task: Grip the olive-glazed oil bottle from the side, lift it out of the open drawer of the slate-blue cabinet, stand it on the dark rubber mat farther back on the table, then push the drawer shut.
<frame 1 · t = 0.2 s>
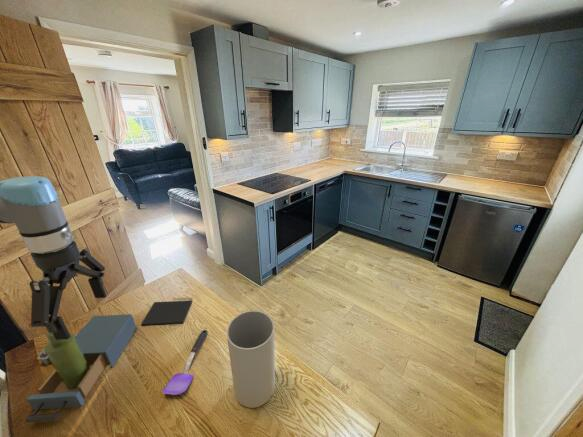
hand: (84, 315, 62), 28 cm above the table, tool pointing down, fingers open, 13 cm apart
spatula: (191, 361, 81), on the table
cabinet: (105, 347, 85), on the table
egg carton: (64, 353, 83), on the table
cylinder vase: (254, 386, 74), on the table
oil bottle: (79, 378, 73), point 2 cm above the table, touching drawer
mat: (168, 313, 100), on the table
drawer: (69, 384, 70), point 4 cm above the table, slide at 11.0 cm, touching oil bottle
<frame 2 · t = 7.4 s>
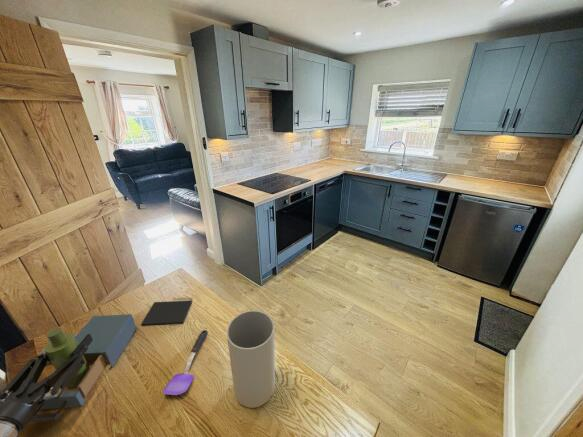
hand: (78, 337, 73), 14 cm above the table, tool horizontal, fingers closed on oil bottle, 6 cm apart
oil bottle: (79, 378, 73), point 2 cm above the table, touching drawer, gripper
everything else where it was.
when the fingers open (12 cm above the table, at t = 17.3 s): oil bottle stays where it is, resting on mat.
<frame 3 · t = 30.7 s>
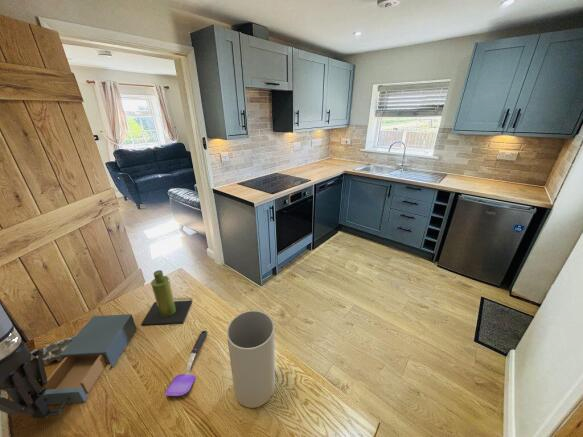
hand: (42, 414, 61), 6 cm above the table, tool pointing down, fingers closed
oil bottle: (167, 311, 99), point 1 cm above the table, touching mat
drawer: (72, 380, 71), point 4 cm above the table, slide at 9.9 cm, touching gripper
everything else where it was.
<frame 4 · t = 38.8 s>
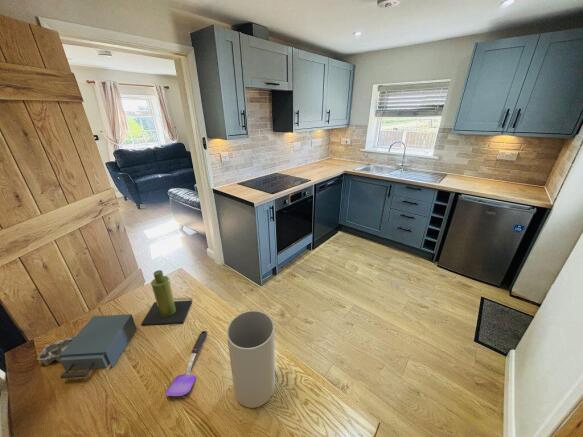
drawer: (94, 350, 80), point 4 cm above the table, slide at 0.0 cm
everything else where it was.
at the end: oil bottle inside the target area on the mat (0.0 cm from its centre), point 1.0 cm above the mat's base; oil bottle tilted 0°; drawer slide at 0.0 cm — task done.
